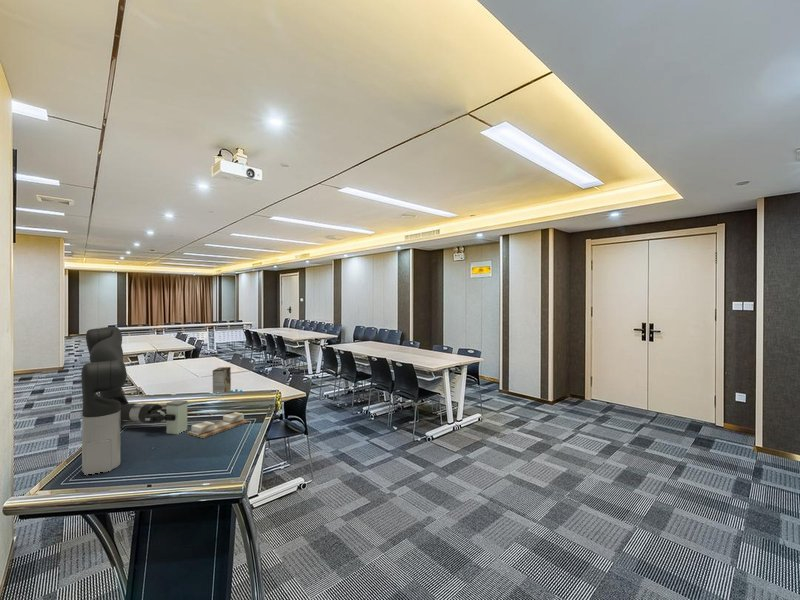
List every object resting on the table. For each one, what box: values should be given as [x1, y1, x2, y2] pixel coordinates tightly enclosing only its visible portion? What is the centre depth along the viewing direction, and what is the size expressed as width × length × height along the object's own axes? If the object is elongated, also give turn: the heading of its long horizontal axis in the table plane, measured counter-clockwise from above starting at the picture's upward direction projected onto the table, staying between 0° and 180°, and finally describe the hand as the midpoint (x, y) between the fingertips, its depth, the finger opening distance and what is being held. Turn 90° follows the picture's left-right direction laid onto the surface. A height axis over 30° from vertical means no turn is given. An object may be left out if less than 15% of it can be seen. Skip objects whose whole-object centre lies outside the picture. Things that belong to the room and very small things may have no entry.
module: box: [166, 399, 188, 435], centre depth 142 cm, size 4×6×12 cm
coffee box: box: [212, 366, 232, 394], centre depth 194 cm, size 9×6×16 cm
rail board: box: [186, 411, 249, 439], centre depth 146 cm, size 20×10×4 cm, turn 152°
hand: (180, 415), depth 142 cm, fingers open, 5 cm apart
